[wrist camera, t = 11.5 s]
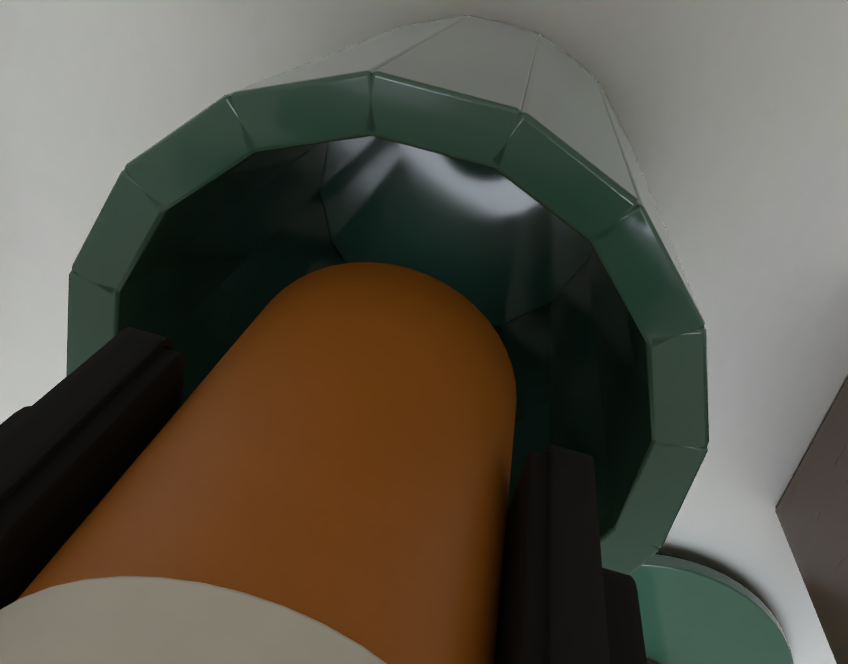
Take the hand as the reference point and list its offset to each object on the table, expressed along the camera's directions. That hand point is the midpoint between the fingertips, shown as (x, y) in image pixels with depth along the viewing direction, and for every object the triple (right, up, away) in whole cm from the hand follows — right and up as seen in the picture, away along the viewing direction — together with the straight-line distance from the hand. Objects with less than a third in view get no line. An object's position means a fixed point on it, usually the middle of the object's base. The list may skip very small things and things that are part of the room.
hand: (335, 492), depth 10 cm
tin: (+2, +6, +13) cm, 14 cm away
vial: (0, +1, +3) cm, 3 cm away
